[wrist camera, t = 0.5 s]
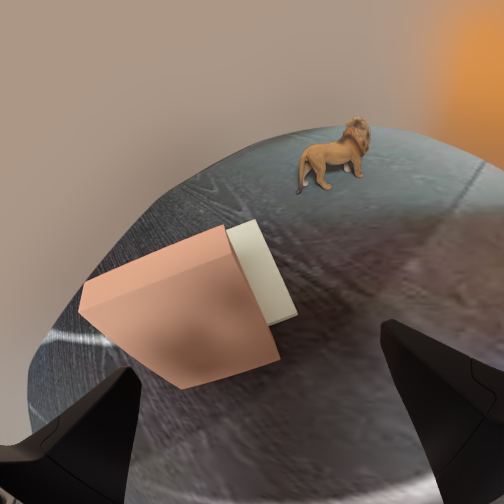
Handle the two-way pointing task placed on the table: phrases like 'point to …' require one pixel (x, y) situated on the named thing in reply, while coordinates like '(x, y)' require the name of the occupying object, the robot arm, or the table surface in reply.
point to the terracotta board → (183, 311)
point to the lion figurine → (337, 153)
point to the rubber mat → (261, 273)
